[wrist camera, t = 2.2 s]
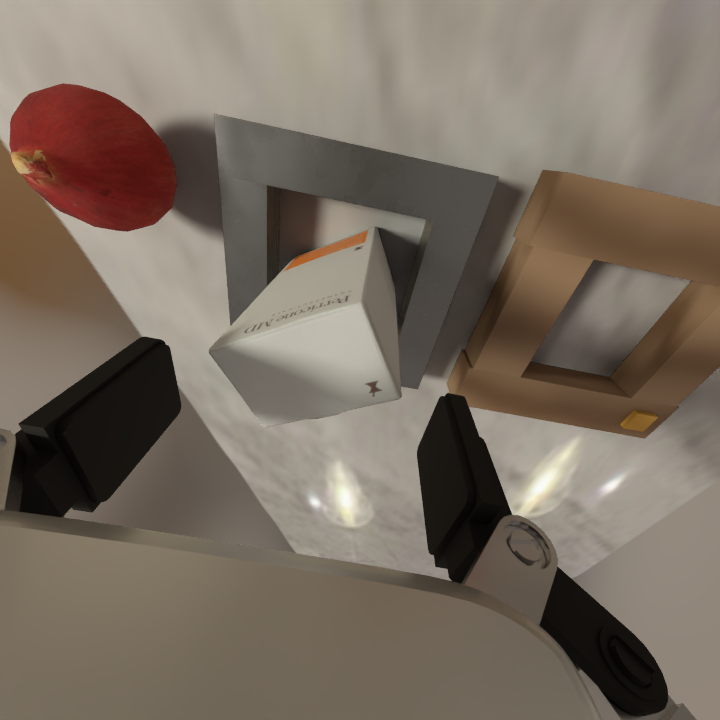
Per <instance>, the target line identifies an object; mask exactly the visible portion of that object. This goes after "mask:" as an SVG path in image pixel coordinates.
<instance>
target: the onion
mask: <svg viewBox="0 0 720 720" xmlns="http://www.w3.org/2000/svg"><path fill="white" fill-rule="evenodd" d="M10 149H11V152H12V156H11V158H12V161H13V164H14V166H15V167H16V169H17V170H18V172H19V173H21V174H22V175H23V177H24V178H25V180H26V181H27V183H28V184H29V185H30V186H31V187H32V188H33V189H34V190H35V191H36V192H37V193H39V194H40V195H41V196H42V197H43V198H44V199H45V200H47V201H48V202H49V203H50V204H51V205H52V206H53V207H55V208H56V209H58V210H59V211H61V212H63V213H65V214H68V215H70V216H73V217H75V218H77V219H79V220H81V221H84V222H86V223H88V224H90V225H92V226H94V227H100V228H106V229H111V230H117V231H131V230H135V229H139V228H143V227H146V226H150V225H154V224H155V223H156V222H158V221H159V220H160V219H161V218H162V217H163V216H164V215H165V214H166V213H167V212H168V211H169V210H170V209H171V208H172V205H173V200H174V196H175V192H176V188H177V181H176V173H175V166H174V163H173V161H172V159H171V157H170V154H169V152H168V150H167V147H166V145H165V144H164V143H163V141H162V140H161V139H160V138H159V137H158V135H157V134H156V133H155V132H154V131H153V129H152V128H151V127H150V126H149V125H148V123H147V122H146V121H145V120H144V119H143V118H142V117H141V116H140V115H139V114H137V113H136V112H135V111H133V110H132V109H131V108H129V107H128V106H127V105H125V104H124V103H123V102H121V101H120V100H118V99H116V98H114V97H112V96H110V95H108V94H106V93H104V92H100V91H97V90H93V89H90V88H87V87H83V86H80V85H72V84H59V85H56V86H53V87H49V88H46V89H43V90H40V91H36V92H33V93H30V94H29V95H28V96H27V97H25V98H24V99H23V101H22V102H21V104H20V105H19V107H18V108H17V110H16V111H15V113H14V114H13V116H12V118H11V121H10Z"/></svg>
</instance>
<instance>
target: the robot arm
mask: <svg viewBox="0 0 720 720" xmlns="http://www.w3.org/2000/svg"><path fill="white" fill-rule="evenodd" d="M180 410H181V401H180V396H179V391H178V386H177V381H176V376H175V371H174V366H173V361H172V356H171V351H170V347H169V346H167V345H166V344H165V342H164V341H163V340H160V339H154V338H149V337H141V338H139V339H138V340H136V341H135V342H133V343H132V344H130V345H129V346H128V347H126V348H125V349H123V350H122V351H121V352H119V353H118V354H116V355H115V356H114V357H112V358H111V359H109V360H108V361H106V362H105V363H104V364H102V365H101V366H99V367H98V368H97V369H95V370H94V371H92V372H91V373H89V374H88V375H87V376H85V377H84V378H83V379H81V380H80V381H78V382H77V383H75V384H74V385H73V386H71V387H70V388H68V389H67V390H65V391H64V392H63V393H62V394H60V395H59V396H57V397H56V398H54V399H53V400H51V401H50V402H49V403H47V404H46V405H44V406H43V407H41V408H40V409H39V410H37V411H36V412H34V413H33V414H32V415H30V416H29V417H28V418H26V419H24V420H23V421H22V422H20V423H19V425H20V427H21V430H20V431H19V432H17V433H16V434H13V433H12V432H11V431H9V430H5V429H0V720H696V719H695V717H694V716H693V715H692V714H691V713H690V711H689V710H688V709H687V708H686V707H685V705H684V704H683V703H680V704H675V702H674V701H673V700H672V699H671V698H670V696H669V695H668V690H667V685H666V683H665V680H664V676H663V674H662V672H661V670H660V668H659V666H658V664H657V663H656V661H655V659H654V657H653V656H652V655H651V653H650V652H649V651H648V649H647V648H646V647H645V646H644V644H643V643H642V642H641V641H640V640H639V639H638V638H637V637H636V636H635V635H634V634H633V633H632V632H631V631H629V630H628V629H627V628H626V627H625V626H624V625H623V624H622V623H621V622H619V621H618V620H617V619H616V618H615V617H614V616H612V615H611V614H610V613H609V612H608V611H607V610H606V609H605V608H604V607H603V606H601V605H600V604H599V603H598V602H597V601H596V600H595V599H594V598H592V597H591V596H590V595H589V594H588V593H587V592H586V591H584V590H583V589H582V588H581V587H580V586H579V585H578V584H577V583H575V582H574V581H573V580H572V579H571V578H570V577H569V576H568V575H566V574H565V573H564V572H563V571H562V570H561V569H560V568H559V567H557V565H558V558H557V554H556V550H555V548H554V546H553V544H552V542H551V541H550V539H549V538H548V537H547V535H546V534H545V533H544V532H543V531H542V530H541V529H540V528H539V527H538V526H537V525H536V524H534V523H533V522H531V521H530V520H528V519H526V518H523V517H521V516H518V515H512V513H511V511H510V508H509V505H508V503H507V500H506V497H505V494H504V492H503V489H502V486H501V484H500V481H499V478H498V476H497V473H496V470H495V467H494V465H493V462H492V459H491V457H490V454H489V451H488V449H487V446H486V443H485V441H484V439H482V438H481V437H479V434H478V432H477V429H476V426H475V423H474V420H473V418H472V415H471V412H470V409H469V406H468V404H467V401H466V398H465V397H464V396H461V395H456V394H451V393H447V394H446V395H445V397H444V396H441V397H440V398H439V400H438V402H437V405H436V407H435V409H434V412H433V414H432V416H431V419H430V421H429V423H428V425H427V428H426V430H425V432H424V435H423V437H422V439H421V442H420V444H419V446H418V450H417V459H418V468H419V476H420V484H421V493H422V501H423V510H424V518H425V527H426V535H427V543H428V550H429V553H430V554H431V555H434V559H435V567H440V568H446V569H448V574H449V578H450V579H451V580H452V581H448V580H444V579H439V578H435V577H431V576H426V575H420V574H415V573H409V572H404V571H398V570H393V569H387V568H382V567H376V566H370V565H364V564H358V563H352V562H346V561H340V560H333V559H327V558H321V557H315V556H309V555H303V554H296V553H290V552H284V551H278V550H271V549H265V548H258V547H252V546H246V545H240V544H233V543H227V542H220V541H213V540H208V539H201V538H194V537H188V536H182V535H176V534H169V533H162V532H156V531H148V530H143V529H136V528H129V527H122V526H116V525H110V524H103V523H96V522H89V521H83V520H76V519H69V518H64V515H65V513H67V511H68V510H69V509H70V508H71V507H72V508H73V509H74V510H80V511H86V512H93V511H94V510H95V509H96V508H97V506H98V505H99V504H100V503H101V502H104V501H106V500H108V499H109V498H110V497H111V495H113V493H114V492H115V491H116V489H117V488H118V487H119V486H120V485H121V483H122V482H123V481H124V480H125V479H126V478H127V476H128V475H129V474H130V473H131V471H132V470H133V469H134V468H135V467H136V465H137V464H138V463H139V462H140V460H141V459H142V458H143V457H144V456H145V454H146V453H147V452H148V451H149V450H150V448H151V447H152V446H153V445H154V443H155V442H156V441H157V440H158V439H159V437H160V436H161V435H162V434H163V432H164V431H165V430H166V429H167V428H168V426H169V425H170V424H171V423H172V421H173V420H174V419H175V418H176V417H177V416H178V414H179V412H180Z"/></svg>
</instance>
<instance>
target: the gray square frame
mask: <svg viewBox="0 0 720 720" xmlns="http://www.w3.org/2000/svg"><path fill="white" fill-rule="evenodd" d="M214 121H215V133H216V146H217V159H218V172H219V184H220V197H221V210H222V223H223V236H224V248H225V261H226V274H227V287H228V299H229V312H230V325H232V324H233V323H234V322H235V321H236V320H237V319H238V318H239V317H240V315H241V314H242V313H243V312H244V311H245V310H246V309H247V308H248V307H249V306H250V305H251V303H252V302H253V301H254V300H255V299H256V298H257V297H258V296H259V295H260V294H261V293H262V292H263V290H264V289H265V288H266V287H267V286H268V285H269V284H270V283H271V282H272V281H273V280H274V279H275V278H276V276H277V275H278V266H279V223H280V188H283V189H288V190H292V191H297V192H302V193H306V194H311V195H316V196H321V197H325V198H330V199H335V200H339V201H344V202H349V203H354V204H358V205H363V206H368V207H372V208H377V209H382V210H387V211H391V212H396V213H401V214H406V215H410V216H415V217H420V218H424V219H426V223H425V226H424V230H423V233H422V237H421V240H420V244H419V247H418V251H417V254H416V258H415V262H414V265H413V269H412V272H411V276H410V279H409V283H408V286H407V290H406V293H405V297H404V300H403V304H402V307H401V311H400V314H399V318H398V321H397V329H398V346H399V371H400V383H401V386H402V387H408V388H413V389H418V387H419V385H420V382H421V379H422V377H423V374H424V372H425V369H426V366H427V364H428V361H429V359H430V356H431V353H432V351H433V348H434V346H435V343H436V340H437V338H438V335H439V332H440V330H441V327H442V325H443V322H444V319H445V317H446V314H447V312H448V309H449V306H450V304H451V301H452V299H453V296H454V293H455V291H456V288H457V286H458V283H459V280H460V278H461V275H462V273H463V270H464V267H465V265H466V262H467V259H468V257H469V254H470V252H471V249H472V246H473V244H474V241H475V239H476V236H477V233H478V231H479V228H480V226H481V223H482V220H483V218H484V215H485V213H486V210H487V207H488V205H489V202H490V200H491V197H492V194H493V192H494V189H495V186H496V184H497V181H498V179H499V177H498V176H494V175H489V174H485V173H480V172H476V171H471V170H467V169H462V168H458V167H453V166H448V165H444V164H439V163H435V162H430V161H426V160H421V159H417V158H412V157H408V156H403V155H399V154H394V153H390V152H385V151H381V150H376V149H372V148H367V147H363V146H358V145H354V144H349V143H345V142H340V141H336V140H331V139H327V138H322V137H318V136H313V135H309V134H304V133H300V132H295V131H291V130H286V129H281V128H277V127H272V126H268V125H263V124H259V123H254V122H250V121H245V120H241V119H236V118H232V117H227V116H223V115H218V114H214Z"/></svg>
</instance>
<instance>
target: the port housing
mask: <svg viewBox="0 0 720 720" xmlns="http://www.w3.org/2000/svg"><path fill="white" fill-rule="evenodd" d="M513 236H514V237H516V240H515V242H514V244H513V247H512V249H511V251H510V253H509V255H508V258H507V260H506V262H505V264H504V266H503V268H502V271H501V273H500V275H499V277H498V279H497V282H496V284H495V286H494V288H493V290H492V292H491V295H490V297H489V299H488V301H487V303H486V306H485V308H484V310H483V312H482V314H481V316H480V319H479V321H478V323H477V325H476V327H475V330H474V332H473V334H472V336H471V338H470V340H469V343H468V345H467V347H466V349H465V350H464V349H462V351H461V353H460V355H459V357H458V360H457V362H456V364H455V366H454V368H453V371H452V373H451V375H450V377H449V380H448V382H447V386H448V389H449V393H451V394H456V395H461V396H464V397H465V398H466V401H467V404H468V406H469V407H475V408H480V409H486V410H491V411H497V412H502V413H508V414H513V415H519V416H524V417H530V418H535V419H541V420H546V421H552V422H557V423H563V424H568V425H574V426H579V427H585V428H590V429H596V430H601V431H607V432H612V433H617V434H623V435H628V436H634V437H639V438H646V437H647V436H648V435H649V434H650V433H651V432H653V431H654V430H655V429H656V428H657V427H658V426H659V425H660V424H661V423H662V422H664V421H665V420H666V419H667V418H668V417H669V416H670V415H671V414H672V413H673V412H674V411H676V410H677V409H678V408H679V407H678V406H677V405H678V404H679V403H680V402H682V401H683V400H684V399H685V398H686V397H687V396H688V395H689V394H690V393H691V392H692V391H694V390H695V389H696V388H697V387H698V386H699V385H700V384H701V383H702V382H703V381H704V380H705V379H707V378H708V377H709V376H710V375H711V374H712V373H713V372H714V371H715V370H716V369H717V368H719V367H720V207H719V206H714V205H710V204H705V203H701V202H697V201H692V200H688V199H683V198H679V197H674V196H670V195H665V194H661V193H656V192H652V191H648V190H643V189H639V188H634V187H630V186H625V185H621V184H616V183H612V182H608V181H603V180H599V179H594V178H590V177H585V176H581V175H576V174H572V173H568V172H559V171H549V170H543V171H542V173H541V175H540V177H539V180H538V182H537V184H536V186H535V189H534V191H533V193H532V195H531V197H530V200H529V202H528V204H527V206H526V209H525V211H524V213H523V215H522V217H521V220H520V222H519V224H518V226H517V229H516V231H515V233H514V235H513ZM593 260H598V261H603V262H608V263H613V264H617V265H622V266H627V267H632V268H636V269H641V270H646V271H651V272H655V273H660V274H665V275H670V276H674V277H679V278H684V279H688V280H692V281H691V282H690V283H689V285H688V286H687V287H686V288H685V289H684V290H683V292H682V293H681V294H680V295H679V296H678V298H677V299H676V300H675V301H674V302H673V303H672V305H671V306H670V307H669V308H668V309H667V311H666V312H665V313H664V314H663V315H662V316H661V318H660V319H659V320H658V321H657V322H656V324H655V325H654V326H653V327H652V328H651V329H650V331H649V332H648V333H647V334H646V335H645V337H644V338H643V339H642V340H641V341H640V342H639V344H638V345H637V346H636V347H635V348H634V350H633V351H632V352H631V353H630V354H629V355H628V357H627V358H626V359H625V360H624V361H623V363H622V364H621V365H620V366H619V367H618V368H617V370H616V371H615V372H614V373H613V374H612V376H611V377H605V376H600V375H595V374H589V373H584V372H579V371H574V370H569V369H563V368H558V367H553V366H548V365H542V364H537V363H532V362H530V361H531V359H532V358H533V356H534V354H535V353H536V351H537V350H538V348H539V346H540V345H541V343H542V342H543V340H544V338H545V337H546V335H547V334H548V332H549V330H550V329H551V327H552V326H553V324H554V322H555V321H556V319H557V318H558V316H559V314H560V313H561V311H562V310H563V308H564V306H565V305H566V303H567V302H568V300H569V298H570V297H571V295H572V294H573V292H574V290H575V289H576V287H577V286H578V284H579V282H580V281H581V279H582V278H583V276H584V274H585V273H586V271H587V270H588V268H589V266H590V265H591V263H592V262H593Z"/></svg>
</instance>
